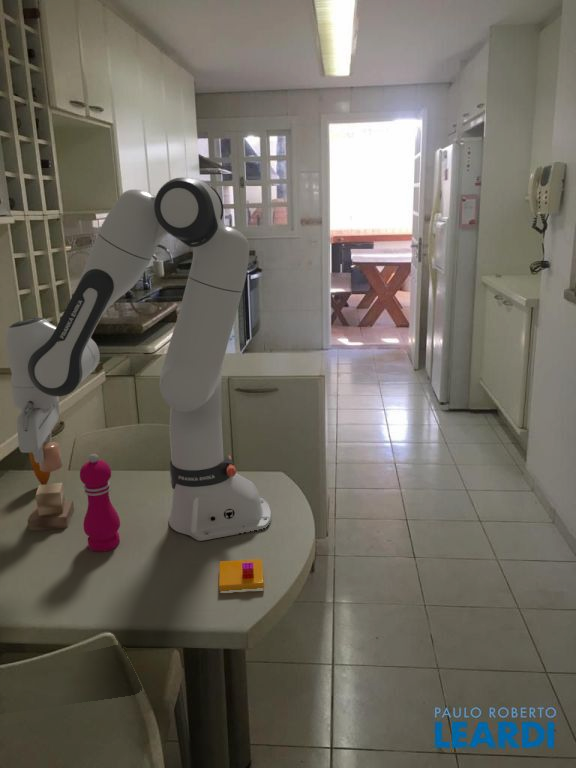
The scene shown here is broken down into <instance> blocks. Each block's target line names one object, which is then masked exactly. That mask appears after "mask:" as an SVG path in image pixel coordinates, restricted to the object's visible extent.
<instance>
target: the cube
mask: <svg viewBox="0 0 576 768" xmlns="http://www.w3.org/2000/svg"><path fill="white" fill-rule="evenodd" d="M35 499H36V503H37V508H38V514H39V516H42V515H50V514H58V513H63V510H64V506H65V501H66V499H65V491H64V484H63V482H57V483H55V482H54V483H47V484H45V485H42V484H39V485H38V486H37V489H36V494H35Z"/></svg>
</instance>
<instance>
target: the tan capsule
mask: <svg viewBox="0 0 576 768" xmlns="http://www.w3.org/2000/svg"><path fill="white" fill-rule="evenodd" d="M42 445H43V447H42V450H43V452H44V455H45V459H44V461H43V462H41V463H39V466H40V470H41V471H43V472H50V473H51V472H55V471H58V470H59V469H61V468H62V467H63V461H62V456H61V450H60V444H59V442H56V441H51V442H48V443H43V444H42Z"/></svg>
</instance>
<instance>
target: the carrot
mask: <svg viewBox="0 0 576 768" xmlns="http://www.w3.org/2000/svg"><path fill="white" fill-rule="evenodd" d="M28 455H29V459H30V464H31V468H32V469H33V473H34V475H35V477H36V479H37V480H38V482H39V483H40V485H45V484H48V482H49V480H50V475H51V472H43V471H41V470H40V466H39V463H36V462H35V460H34V455H33V453H32V452H28Z"/></svg>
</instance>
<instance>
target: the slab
mask: <svg viewBox="0 0 576 768" xmlns="http://www.w3.org/2000/svg"><path fill="white" fill-rule="evenodd" d="M74 505H75V504H74V499H69V500H65V506H64V510H63V513H58V514H50V515H42V516H39V514H38V508H37V502H36V503H35V505H34V507H33V509H32V511H31V513H30V514H29V516H28V518H27V525H28V530H29V531H40V530H52V529H53V530H54V529H63V528H64V529H65V528H68V527H69V524H70V522H71V519H72V517H73V515H74V513H75V506H74Z"/></svg>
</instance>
